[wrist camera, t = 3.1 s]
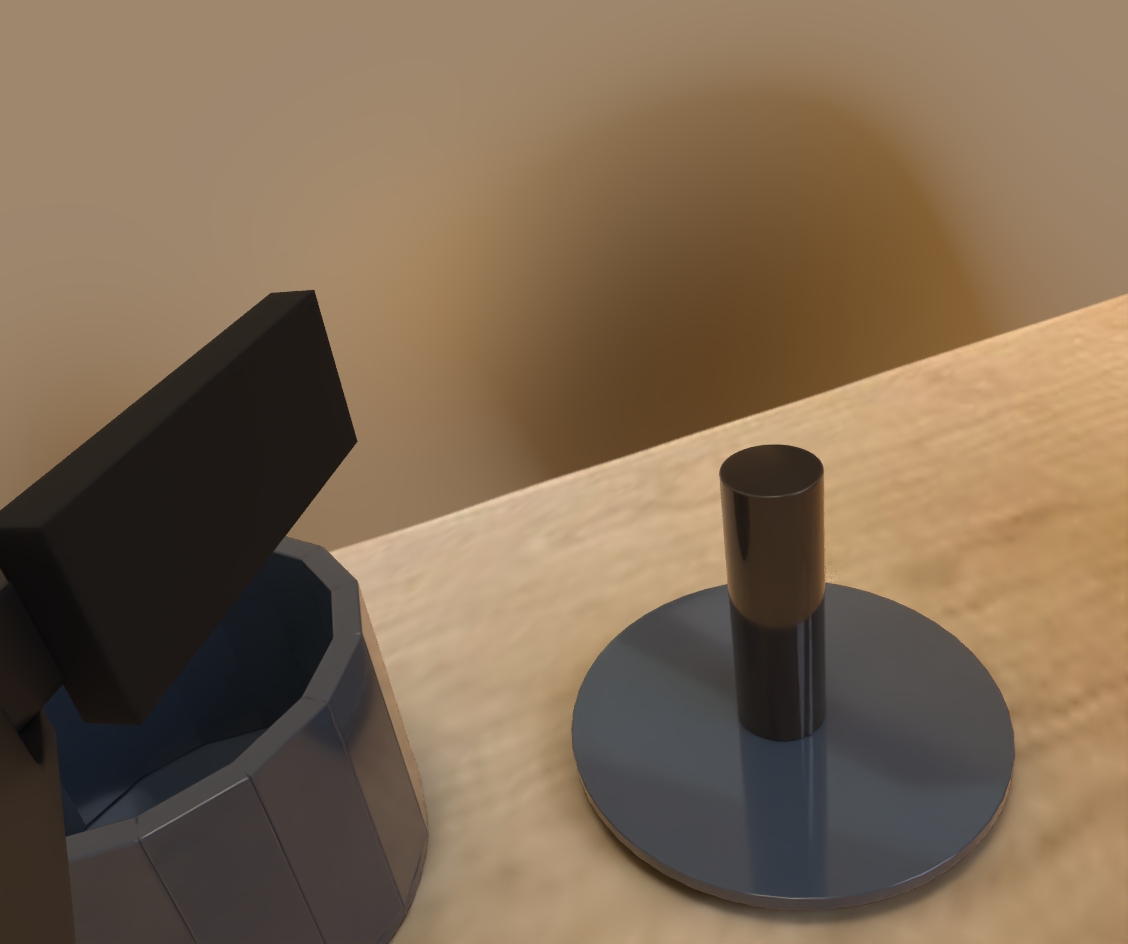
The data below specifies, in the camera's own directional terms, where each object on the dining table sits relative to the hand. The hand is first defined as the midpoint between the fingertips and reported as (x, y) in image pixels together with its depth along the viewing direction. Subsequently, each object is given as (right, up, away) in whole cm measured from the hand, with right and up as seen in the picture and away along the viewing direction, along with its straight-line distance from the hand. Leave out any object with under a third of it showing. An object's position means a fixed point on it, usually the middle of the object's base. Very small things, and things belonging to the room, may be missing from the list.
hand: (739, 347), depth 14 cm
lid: (+4, -10, +17) cm, 20 cm away
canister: (-13, -14, +16) cm, 25 cm away
